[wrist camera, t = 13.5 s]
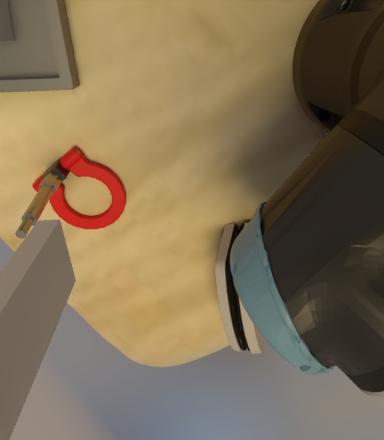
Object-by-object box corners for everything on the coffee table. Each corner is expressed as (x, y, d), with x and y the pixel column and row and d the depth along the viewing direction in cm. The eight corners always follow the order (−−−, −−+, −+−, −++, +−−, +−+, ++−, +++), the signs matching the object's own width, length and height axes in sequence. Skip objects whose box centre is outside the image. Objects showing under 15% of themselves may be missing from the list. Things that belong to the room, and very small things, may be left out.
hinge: (276, 312, 51) (269, 372, 43) (244, 310, 52) (232, 368, 44) (264, 215, 42) (254, 268, 34) (227, 216, 44) (208, 267, 36)
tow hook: (141, 197, 41) (81, 138, 36) (135, 268, 30) (48, 197, 26) (91, 235, 43) (28, 185, 39) (68, 315, 32) (-22, 256, 28)
